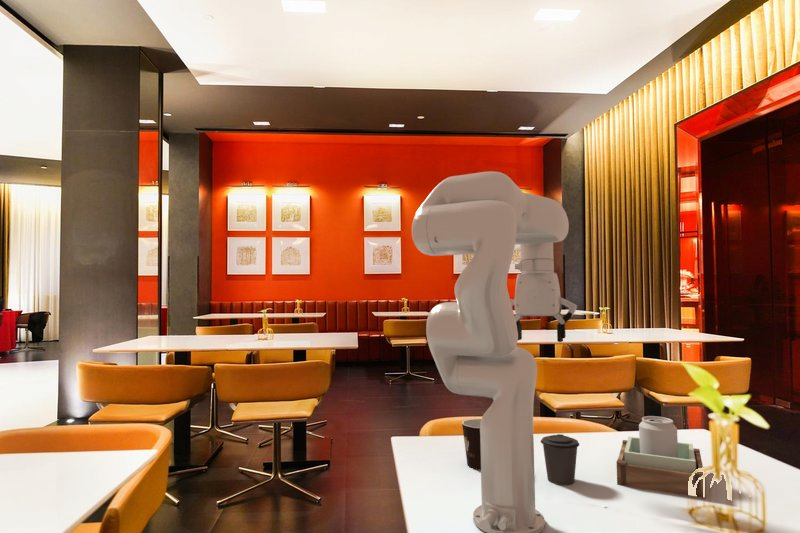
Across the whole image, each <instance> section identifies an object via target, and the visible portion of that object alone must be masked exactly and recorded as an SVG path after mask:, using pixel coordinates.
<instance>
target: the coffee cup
mask: <svg viewBox="0 0 800 533" xmlns="http://www.w3.org/2000/svg"><path fill="white" fill-rule="evenodd" d="M540 443H541V444H542V448H543V453H544V454H543V455H544V462H545V463H544V464H545V470H546V476H547V477H546V478H547V481H548V482H549V483H551V484H554V485H558V486H570V485H573V484H574V483H575V478H576V477H575V476H576V467H577V456H578V447H580V443H579V441H578V440H577V439H576V438H574V437H570V436H568V435H564V434H559V433H558V434H551V435H547V436H543V437H542V438H541V440H540Z"/></svg>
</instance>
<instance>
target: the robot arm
mask: <svg viewBox="0 0 800 533" xmlns="http://www.w3.org/2000/svg"><path fill="white" fill-rule="evenodd" d="M569 224H570V222H569V218H568V216H567V212H566V210H565V208H563V206H562V205H561V203H560V202H558V201H557V200H555V199H552V198H550V197H546V196H541V195H537V194H533V193H528V192H524V191H522V190H521V188H520V187H519V186H518V184H516V183H515V182H514V181H513V180H512V178H511V177H509V176H508V175H507V174H505V173H502V172H500V171H491V170H490V171H481V172H475V173H474V172H473V173H467V174H460V175H453V176H448V177H447V178H444V179H443V180H442V181H441V182H439V183H438V184H437V185H436V186H435V187H434V188H433V189H432V191H431V192H430V193H429V194H428V196H427V197H426V199H425V200H424V201H423V202H422V203H421V205H420V206H419V207H418V209H417V210H416V212H415V214H414V217H413V219H412V223H411V237H412V242H413V244H414V246H415V247H416V249H417V251H419V252H420V253H422V254H423V255H427V256H432V257H439V256H460V255H473V254H474V255H473V257H472V259H471V260H470V261H469V263H468V264H467V265H466V266H465V268H463V270H462V271H461V273H460V274H459V276H458V278H457V280H456V282H455V284H454V296H455V300H456V301H447V302H446V301H445V302H442V303H438V304H436V305H435V306H434V307H432V309H431V310H430V311H429V313H428V316H427V319H426V327H425V328H426V329H425V331H426V332H425V333H426V339H427V344H428V347H429V351H430V353H431V356H432V358H433V360H434V362H435V366H436V368H437V370H438V373H439V375H440V377H441V380H442V382H443V383H444V386H445V388H446V389H447V390H449V391H450V392H451V393H453V394H457V395H463V396H471V397H480V398H481V397H483V398H488V399H492V400H493V401H492V403H491V405H490V406H489V407H488V409H487V410H485V412H484V413H483V414H482V417H481V418H480V419H481V423H480V442H481V470H480V482H481V483H480V485H481V487H480V489H481V490H480V491H481V505H479V506H477V507H476V508H475V509H474V510H473V512H472V515H473V516H472V519H473V522H474V525H475V526H476V527H477V528H478V529H480V530H481V531H482V532H485V533H541V532H543V531H544V529H545V527H546V526H545V516H544V515H543V514H542V512H540V511H539V510H537V509H536V487H535V486H536V484H535V483H536V482H535V447H534V442H535V441H534V402H535V392H536V385H537V379H538V377H537V376H538V365H537V360H536V358H535V357H534V355H533V354H532V353H531V352H530V351H528V350H527V349H525V348H522V347H519V346H517V344H518V341H521V340H523V339H522V338H523V334H522V333H523V331H522V330H523V329H522V323H521V320H522V319H523V318H524V317H554V319H556V320H557V322H558V324H557V325H556V330H557V331H556V334H557V335H556V341H557V342H558V343H562V342H564V339H566V323H568V321H570V320H571V318H573V316H574V315H575V312H576V310H577V308H578V305H577V304H575V303H573V302H572V301H569V300H568V299H565V298H563V297H561V288H560V282H559V278H558V273H557V272H554V271H555V267H554V266H555V265H554V263H555V262H554V261H555V260H554V243H560V242H562V241H564V240H565V239H566V238H567V236H568V235H569V230H570V229H569V226H570V225H569ZM517 245H520V250H519V251H520V261H519V263H515V264H514V269H515V270H519V272H520V273H518V274H517V275H516V281H515V290H514V291H515V292H514V298H513V299H510V294H509V291H508V284H507V283H508V275H509V270H510V268H511V264H512V261H513V256H514V251H515V246H517ZM562 305H563V306H564V307H567V308H568V311H567V313H566V314H565V315H563V314H562ZM513 306H514V309H513ZM514 313H515V314H514Z"/></svg>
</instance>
